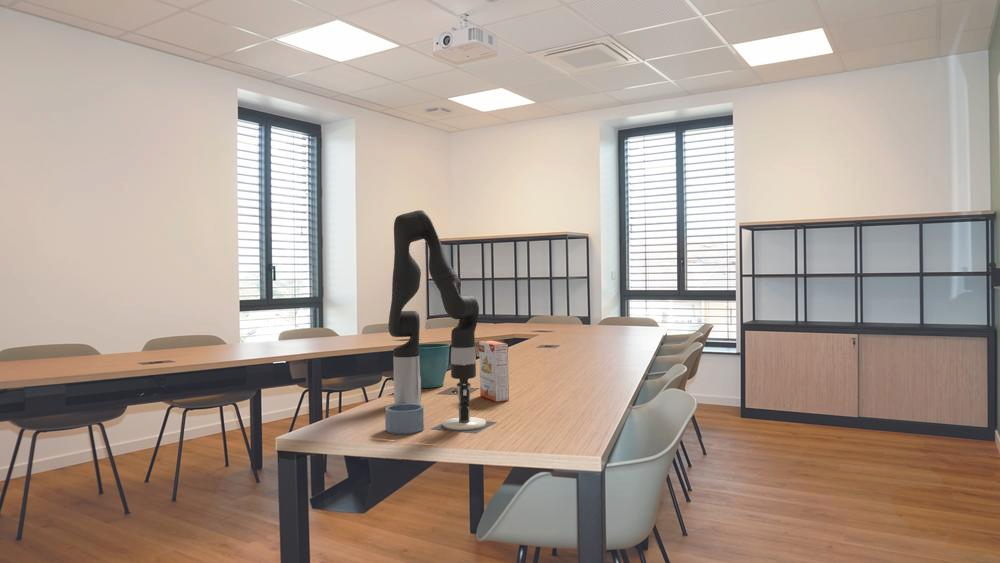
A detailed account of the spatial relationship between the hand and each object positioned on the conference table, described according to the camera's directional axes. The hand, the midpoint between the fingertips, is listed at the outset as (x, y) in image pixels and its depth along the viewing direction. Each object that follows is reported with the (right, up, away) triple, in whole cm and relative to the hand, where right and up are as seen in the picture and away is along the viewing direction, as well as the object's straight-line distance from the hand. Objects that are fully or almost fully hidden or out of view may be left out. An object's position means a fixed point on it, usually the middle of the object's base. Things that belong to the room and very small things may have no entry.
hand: (464, 418), depth 194 cm
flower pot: (-19, -2, +74) cm, 76 cm away
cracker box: (+9, -2, +44) cm, 45 cm away
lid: (0, -2, 0) cm, 2 cm away
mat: (0, -2, 0) cm, 2 cm away
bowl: (-17, -3, -5) cm, 18 cm away
